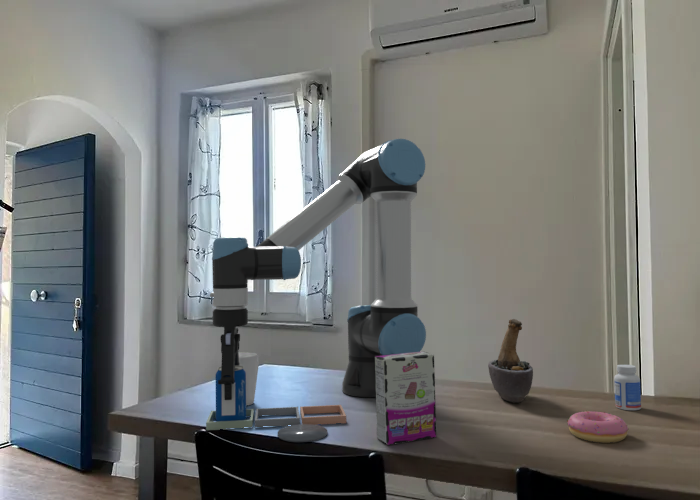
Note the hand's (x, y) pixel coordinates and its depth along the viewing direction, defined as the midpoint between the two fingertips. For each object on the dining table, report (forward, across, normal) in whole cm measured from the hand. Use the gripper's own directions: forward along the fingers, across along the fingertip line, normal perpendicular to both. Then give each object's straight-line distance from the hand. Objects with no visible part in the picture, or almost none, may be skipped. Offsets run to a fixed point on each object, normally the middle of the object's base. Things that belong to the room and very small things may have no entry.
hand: (230, 407), depth 122 cm
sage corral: (+3, 0, 0) cm, 3 cm away
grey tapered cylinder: (+4, -17, +1) cm, 17 cm away
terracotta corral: (+3, 0, +20) cm, 20 cm away
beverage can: (+4, 0, 0) cm, 4 cm away
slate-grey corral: (+3, 0, +10) cm, 11 cm away
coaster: (+3, +11, +15) cm, 19 cm away
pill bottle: (+3, +4, +91) cm, 91 cm away
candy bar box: (+4, +17, +35) cm, 39 cm away
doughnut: (+4, +22, +72) cm, 76 cm away
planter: (+3, -9, +68) cm, 69 cm away
